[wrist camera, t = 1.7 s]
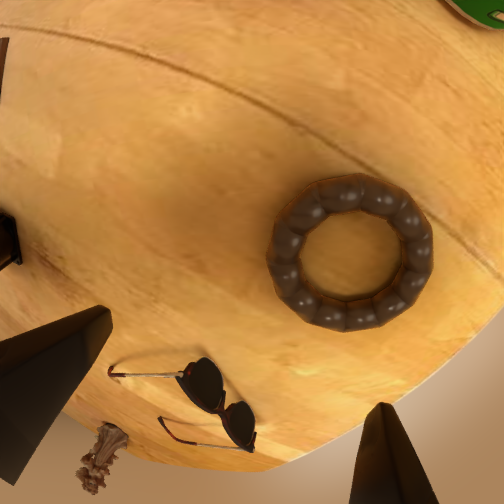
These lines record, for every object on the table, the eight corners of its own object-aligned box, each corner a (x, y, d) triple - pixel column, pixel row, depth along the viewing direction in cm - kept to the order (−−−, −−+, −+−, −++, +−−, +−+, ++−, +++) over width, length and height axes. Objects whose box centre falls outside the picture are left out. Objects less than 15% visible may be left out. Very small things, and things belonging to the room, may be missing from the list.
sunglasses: (264, 420, 31) (253, 455, 27) (168, 418, 38) (154, 444, 34) (200, 339, 27) (177, 379, 22) (107, 352, 34) (85, 379, 29)
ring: (386, 332, 22) (390, 351, 20) (255, 294, 23) (248, 312, 21) (451, 207, 17) (464, 218, 15) (295, 149, 18) (292, 154, 16)
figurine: (138, 440, 44) (106, 502, 31) (128, 443, 47) (98, 499, 34) (106, 418, 43) (69, 479, 30) (98, 422, 46) (64, 477, 33)
